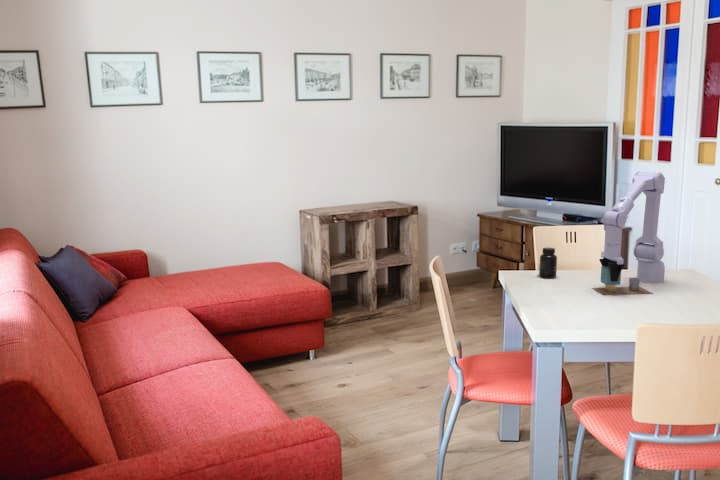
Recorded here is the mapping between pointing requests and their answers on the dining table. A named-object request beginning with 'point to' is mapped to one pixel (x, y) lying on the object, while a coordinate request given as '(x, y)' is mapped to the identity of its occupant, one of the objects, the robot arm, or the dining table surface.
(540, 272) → the supplement bottle
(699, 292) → the dining table surface
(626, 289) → the base board
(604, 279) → the teal foam cube
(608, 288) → the tan wooden block
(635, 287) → the steel post
